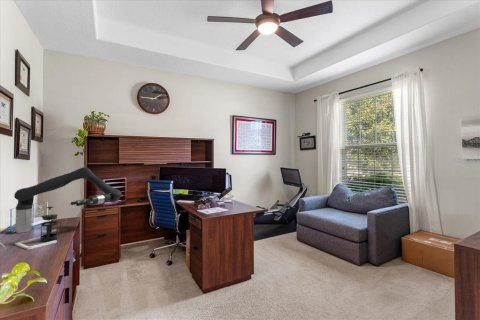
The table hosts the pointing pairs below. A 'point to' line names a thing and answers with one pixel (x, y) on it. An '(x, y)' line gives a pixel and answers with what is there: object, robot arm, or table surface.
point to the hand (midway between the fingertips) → (73, 204)
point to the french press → (49, 228)
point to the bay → (34, 245)
